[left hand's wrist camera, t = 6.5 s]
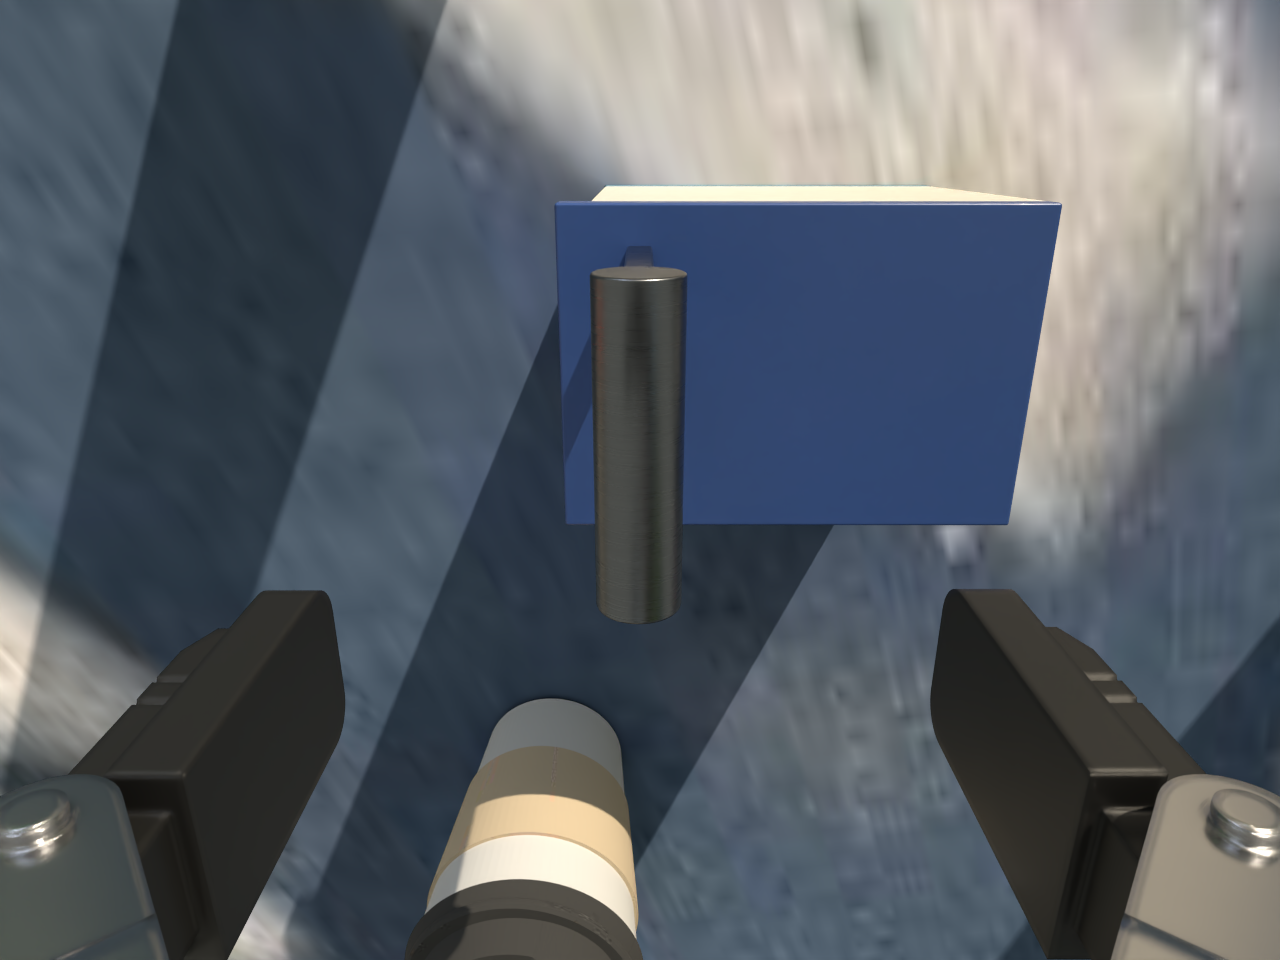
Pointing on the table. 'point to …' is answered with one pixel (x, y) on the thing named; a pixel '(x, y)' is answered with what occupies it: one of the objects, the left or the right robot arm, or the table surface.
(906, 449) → the lid
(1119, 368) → the table surface
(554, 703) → the coffee cup
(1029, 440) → the table surface
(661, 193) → the chest
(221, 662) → the left robot arm
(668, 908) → the table surface
